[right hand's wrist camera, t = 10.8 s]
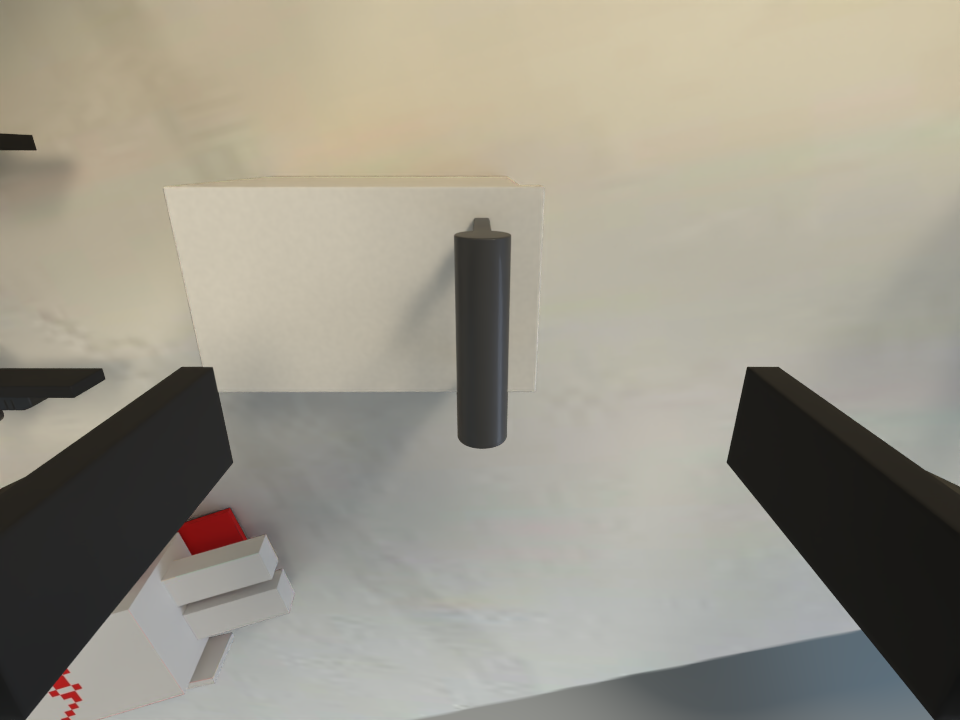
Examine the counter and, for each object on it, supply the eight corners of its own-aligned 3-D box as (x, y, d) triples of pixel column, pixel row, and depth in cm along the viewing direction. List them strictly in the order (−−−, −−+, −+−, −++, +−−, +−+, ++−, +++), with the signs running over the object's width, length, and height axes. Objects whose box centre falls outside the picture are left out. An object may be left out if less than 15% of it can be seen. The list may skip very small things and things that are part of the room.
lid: (541, 185, 23) (573, 199, 15) (533, 382, 27) (555, 475, 19) (178, 185, 23) (22, 199, 15) (219, 382, 27) (111, 476, 19)
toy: (289, 689, 38) (-121, 812, 36) (319, 561, 50) (15, 650, 49) (221, 564, 33) (-248, 700, 32) (272, 459, 46) (-63, 553, 44)
